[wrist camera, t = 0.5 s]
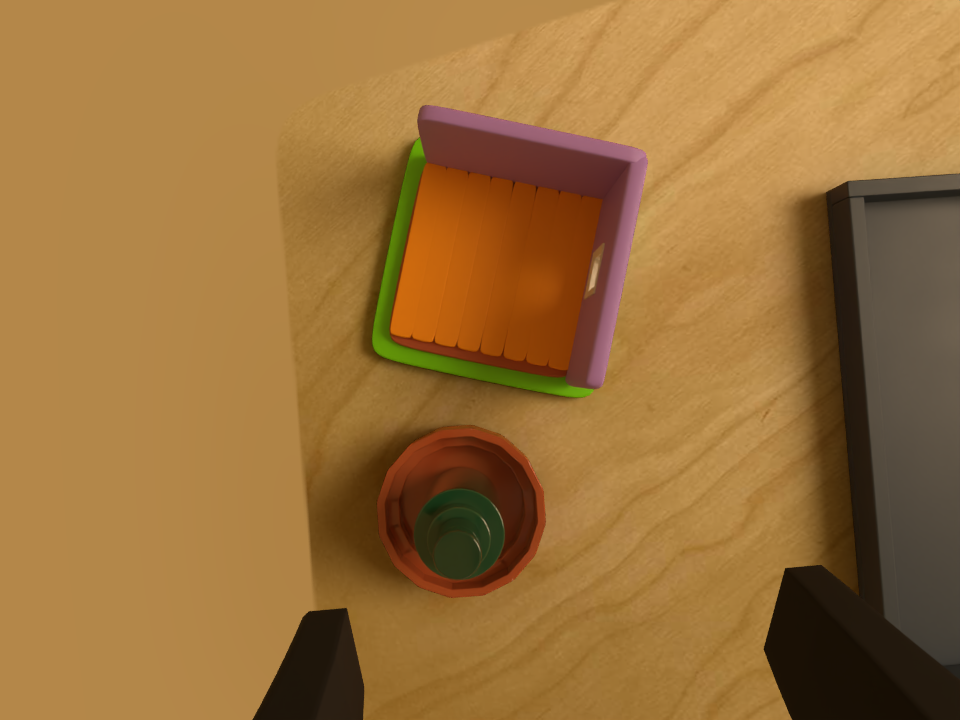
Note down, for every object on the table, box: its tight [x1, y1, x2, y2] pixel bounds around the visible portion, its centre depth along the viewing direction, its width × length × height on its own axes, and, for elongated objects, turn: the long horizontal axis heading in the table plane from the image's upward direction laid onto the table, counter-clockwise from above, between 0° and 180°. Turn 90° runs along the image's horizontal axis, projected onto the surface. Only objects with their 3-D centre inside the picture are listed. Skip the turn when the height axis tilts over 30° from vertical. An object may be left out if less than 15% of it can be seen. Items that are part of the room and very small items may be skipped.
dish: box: [377, 425, 546, 598], centre depth 31 cm, size 8×8×2 cm
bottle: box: [414, 467, 505, 580], centre depth 27 cm, size 4×4×9 cm
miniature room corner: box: [372, 105, 648, 398], centre depth 29 cm, size 12×12×7 cm
